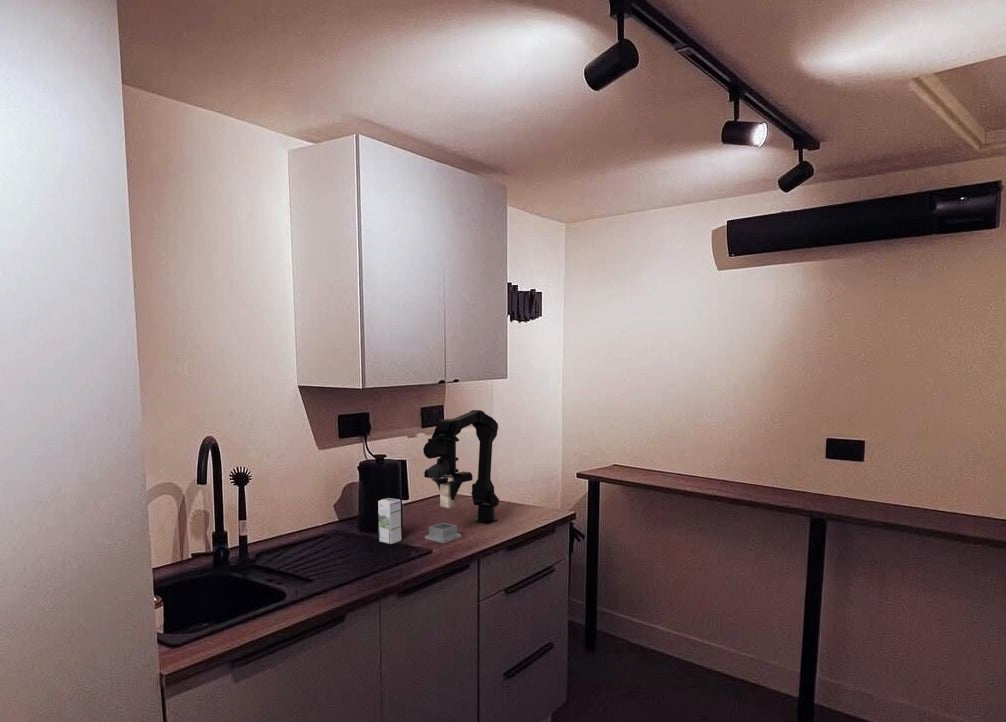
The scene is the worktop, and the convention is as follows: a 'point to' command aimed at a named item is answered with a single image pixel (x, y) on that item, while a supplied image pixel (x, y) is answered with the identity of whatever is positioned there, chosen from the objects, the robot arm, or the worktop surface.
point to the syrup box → (389, 520)
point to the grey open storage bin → (443, 532)
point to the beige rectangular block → (446, 496)
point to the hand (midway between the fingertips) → (448, 499)
